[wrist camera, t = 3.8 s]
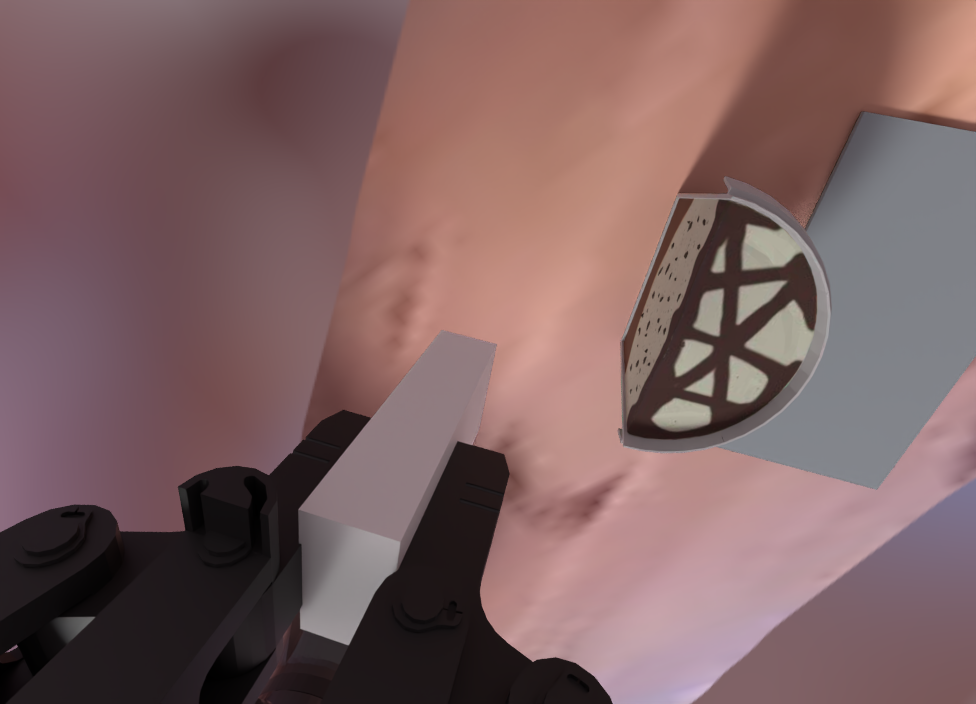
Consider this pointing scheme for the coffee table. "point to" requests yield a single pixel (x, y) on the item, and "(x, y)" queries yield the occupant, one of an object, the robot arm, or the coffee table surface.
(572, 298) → the coffee table surface
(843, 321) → the mat
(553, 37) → the coffee table surface
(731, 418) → the food container
